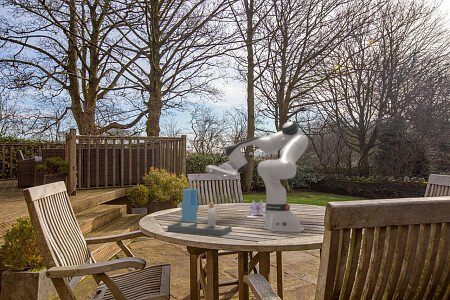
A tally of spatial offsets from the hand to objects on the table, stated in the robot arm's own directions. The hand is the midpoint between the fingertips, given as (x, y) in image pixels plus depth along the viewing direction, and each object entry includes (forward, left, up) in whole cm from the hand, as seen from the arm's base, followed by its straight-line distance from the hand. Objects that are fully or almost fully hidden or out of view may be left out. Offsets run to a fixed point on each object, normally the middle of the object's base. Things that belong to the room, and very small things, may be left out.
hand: (217, 174), depth 219 cm
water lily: (-11, -44, -30) cm, 55 cm away
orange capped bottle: (-1, +11, -30) cm, 32 cm away
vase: (+21, -3, -30) cm, 37 cm away
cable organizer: (-1, +26, -30) cm, 40 cm away
